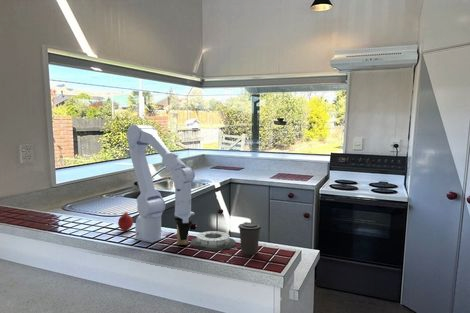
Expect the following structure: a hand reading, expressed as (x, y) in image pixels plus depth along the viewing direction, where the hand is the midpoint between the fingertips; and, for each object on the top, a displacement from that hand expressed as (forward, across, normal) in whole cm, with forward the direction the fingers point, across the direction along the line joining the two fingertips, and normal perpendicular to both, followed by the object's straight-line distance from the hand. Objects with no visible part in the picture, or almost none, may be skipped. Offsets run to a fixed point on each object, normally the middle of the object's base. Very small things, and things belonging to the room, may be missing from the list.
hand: (182, 237), depth 121 cm
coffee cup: (+3, -13, -21) cm, 25 cm away
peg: (+2, 0, 0) cm, 2 cm away
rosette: (+3, 0, -11) cm, 12 cm away
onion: (+3, +23, +20) cm, 31 cm away
